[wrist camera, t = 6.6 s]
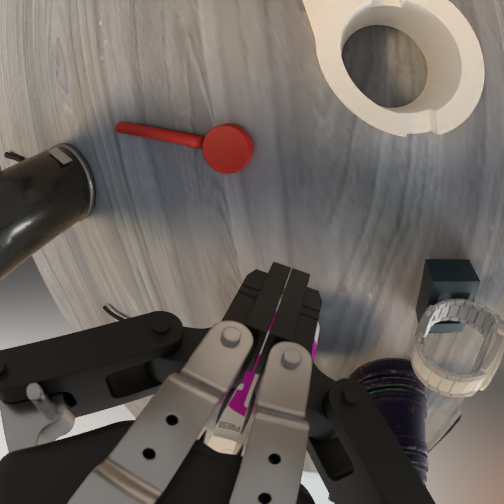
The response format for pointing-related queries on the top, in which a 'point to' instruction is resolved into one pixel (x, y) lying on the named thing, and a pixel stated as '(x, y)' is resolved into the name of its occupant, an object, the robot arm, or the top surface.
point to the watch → (455, 327)
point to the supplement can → (241, 406)
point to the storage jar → (399, 405)
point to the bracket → (432, 46)
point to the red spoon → (204, 143)
